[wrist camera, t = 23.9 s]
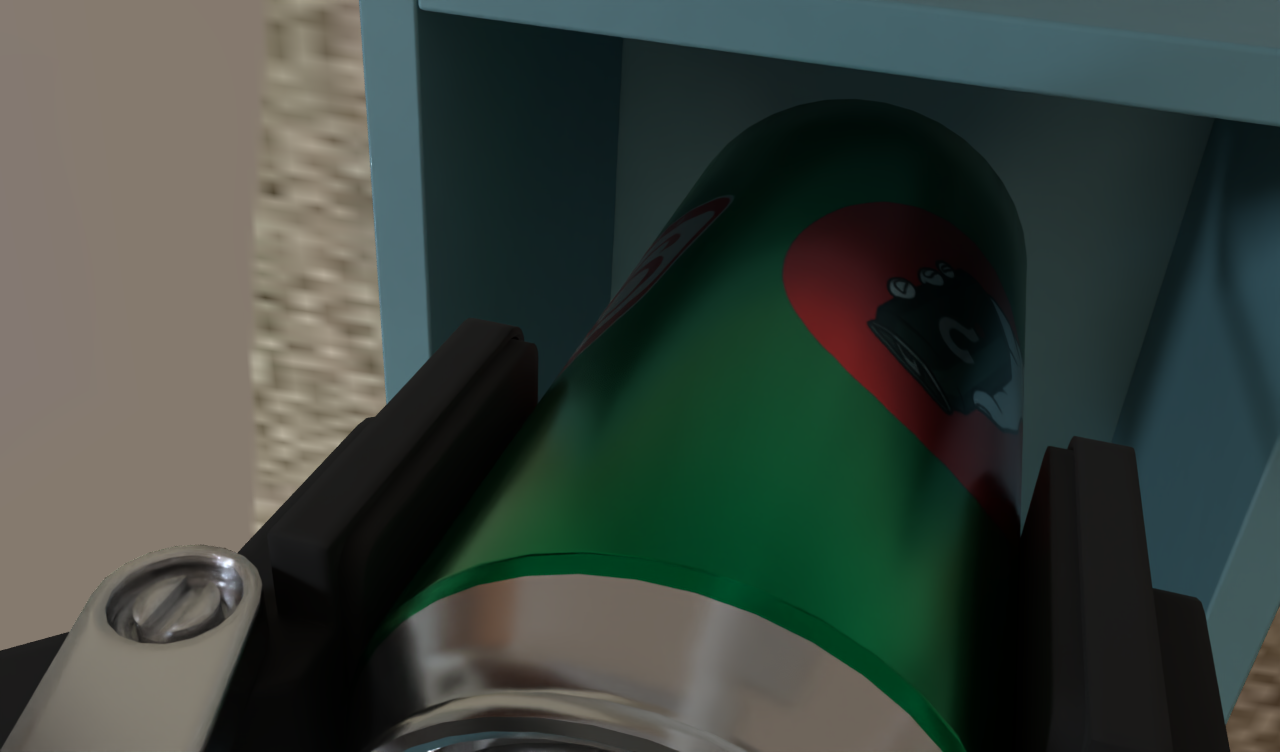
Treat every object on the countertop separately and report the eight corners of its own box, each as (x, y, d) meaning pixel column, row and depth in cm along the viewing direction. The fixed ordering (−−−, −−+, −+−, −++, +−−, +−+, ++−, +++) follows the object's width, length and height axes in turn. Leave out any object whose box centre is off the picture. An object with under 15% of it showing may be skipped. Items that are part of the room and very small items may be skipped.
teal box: (603, -152, 22) (352, -64, 14) (1320, -81, 19) (1518, 78, 11) (580, 501, 30) (412, 796, 22) (1085, 617, 28) (1103, 1001, 19)
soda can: (715, 54, 17) (243, 568, 7) (1073, 126, 16) (1131, 845, 6) (670, 353, 19) (284, 1037, 10) (974, 430, 19) (899, 1276, 9)
